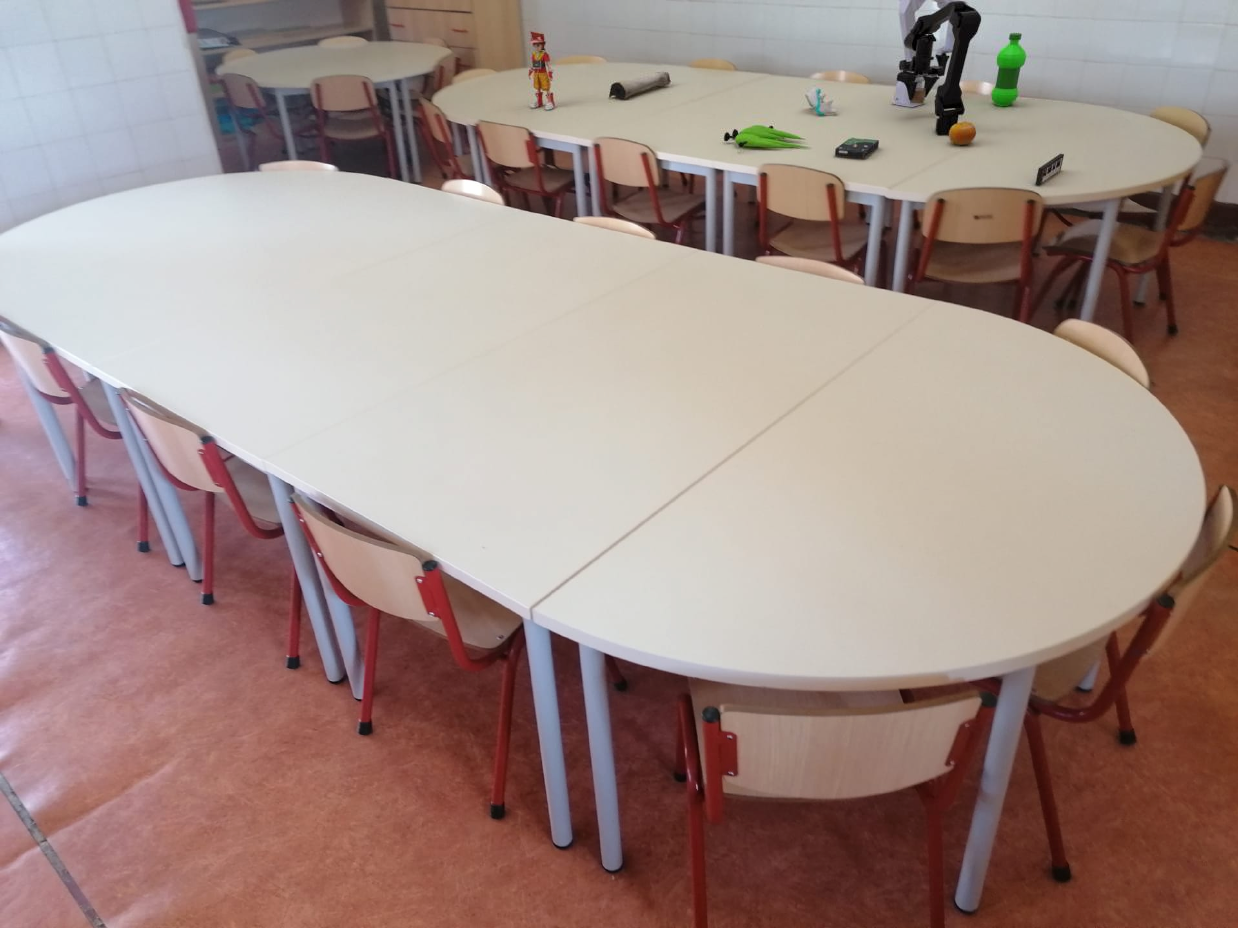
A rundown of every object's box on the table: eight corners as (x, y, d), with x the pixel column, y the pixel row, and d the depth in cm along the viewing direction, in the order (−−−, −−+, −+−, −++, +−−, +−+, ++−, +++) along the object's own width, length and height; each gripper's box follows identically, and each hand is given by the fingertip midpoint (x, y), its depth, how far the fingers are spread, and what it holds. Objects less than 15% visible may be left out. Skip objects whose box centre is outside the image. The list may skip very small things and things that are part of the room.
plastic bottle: (1022, 104, 346) (1036, 33, 332) (1005, 109, 342) (1018, 37, 328) (1000, 100, 353) (1012, 30, 339) (983, 104, 349) (995, 34, 335)
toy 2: (713, 146, 317) (792, 161, 304) (715, 131, 314) (794, 145, 301) (747, 132, 337) (821, 146, 325) (748, 118, 334) (824, 131, 322)
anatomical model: (800, 85, 355) (825, 78, 354) (804, 112, 360) (828, 105, 360) (810, 94, 342) (836, 87, 341) (813, 121, 348) (839, 114, 347)
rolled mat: (651, 76, 408) (662, 61, 399) (662, 93, 408) (674, 79, 400) (605, 92, 391) (616, 77, 383) (617, 110, 391) (628, 95, 383)
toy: (525, 109, 381) (517, 32, 364) (534, 104, 388) (527, 28, 371) (550, 110, 377) (543, 32, 360) (559, 105, 384) (553, 28, 367)
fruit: (944, 129, 311) (958, 112, 304) (966, 137, 313) (980, 120, 306) (944, 146, 307) (958, 129, 300) (966, 154, 309) (980, 138, 302)
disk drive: (864, 160, 299) (878, 148, 309) (864, 151, 297) (879, 139, 307) (834, 157, 304) (849, 145, 314) (835, 148, 302) (850, 136, 312)
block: (924, 100, 336) (926, 88, 334) (923, 103, 333) (924, 91, 330) (911, 100, 338) (913, 87, 336) (909, 103, 334) (911, 90, 332)
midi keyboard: (1039, 185, 269) (1043, 168, 266) (1035, 184, 270) (1038, 168, 267) (1060, 170, 279) (1064, 154, 277) (1056, 169, 280) (1060, 153, 277)
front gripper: (926, 47, 335) (920, 91, 344) (888, 54, 328) (883, 99, 337) (948, 51, 327) (942, 96, 336) (910, 58, 320) (904, 104, 329)
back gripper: (959, 31, 355) (953, 67, 363) (932, 36, 350) (927, 73, 358) (973, 33, 350) (967, 70, 358) (946, 38, 345) (941, 76, 352)
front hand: (917, 99), depth 335 cm, fingers closed on block, 7 cm apart
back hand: (948, 72), depth 357 cm, fingers open, 7 cm apart
